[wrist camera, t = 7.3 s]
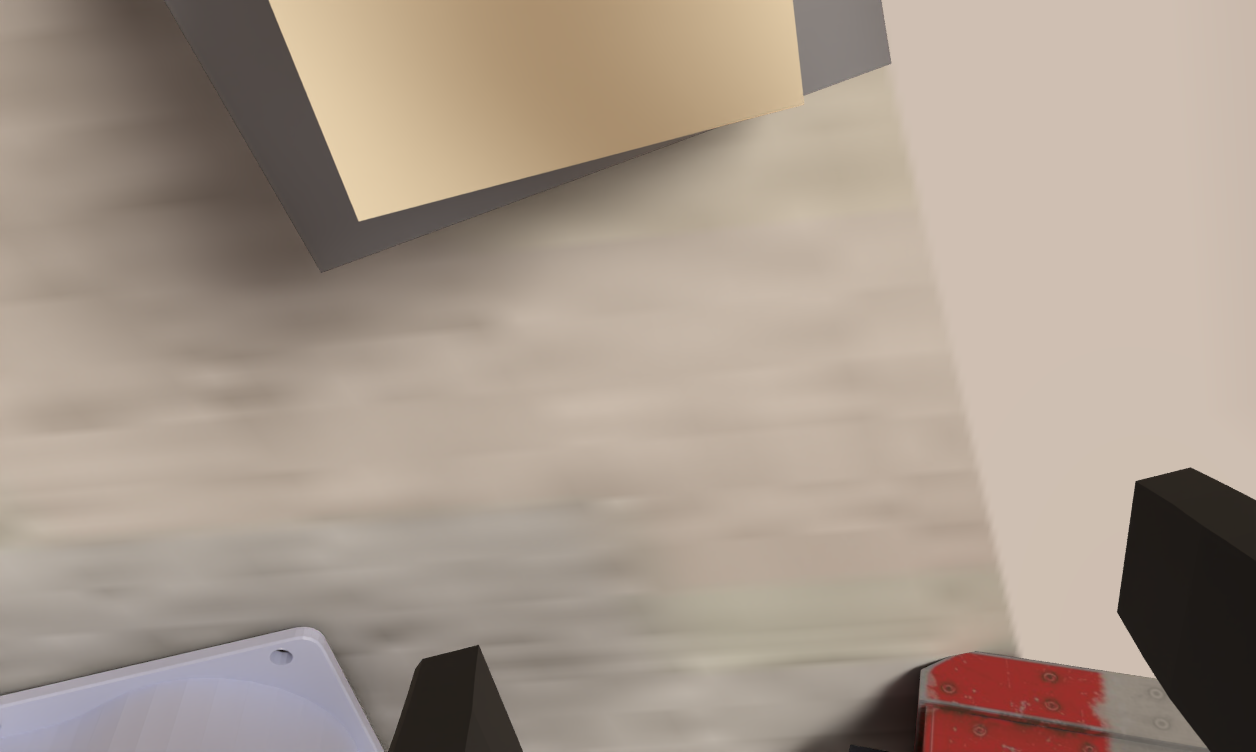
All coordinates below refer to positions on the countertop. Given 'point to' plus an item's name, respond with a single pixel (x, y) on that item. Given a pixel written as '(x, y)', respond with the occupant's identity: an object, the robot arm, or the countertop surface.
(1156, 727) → the toy gun
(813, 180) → the countertop surface
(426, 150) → the birch cube
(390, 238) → the charcoal slab
